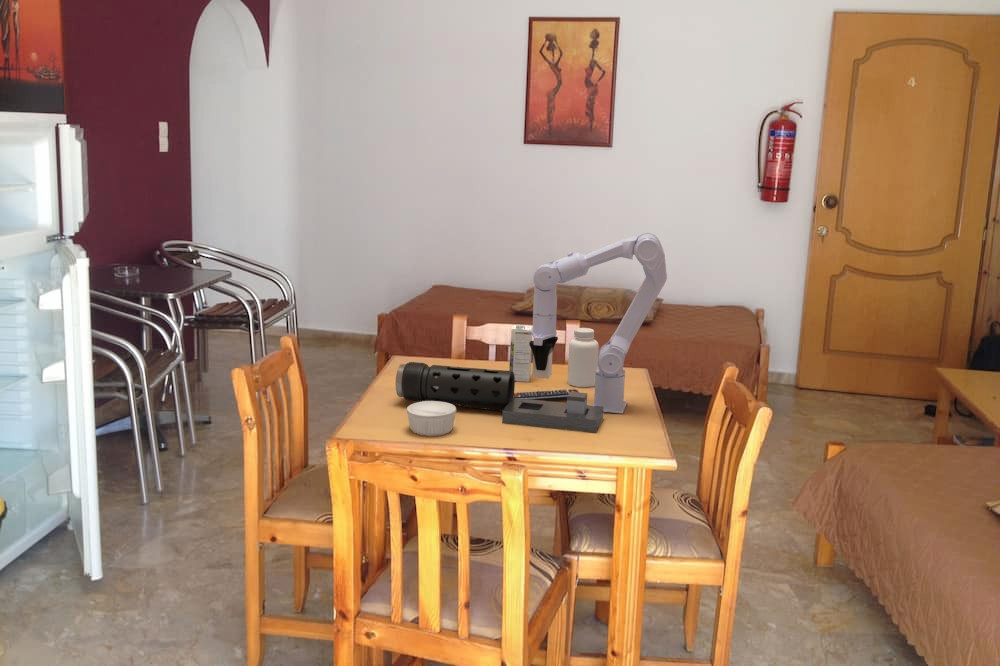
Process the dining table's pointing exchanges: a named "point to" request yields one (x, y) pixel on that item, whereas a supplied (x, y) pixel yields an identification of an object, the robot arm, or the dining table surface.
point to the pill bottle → (583, 358)
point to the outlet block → (551, 415)
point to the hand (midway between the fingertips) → (542, 367)
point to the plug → (548, 370)
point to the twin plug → (577, 403)
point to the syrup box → (520, 352)
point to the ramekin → (431, 417)
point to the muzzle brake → (456, 385)
